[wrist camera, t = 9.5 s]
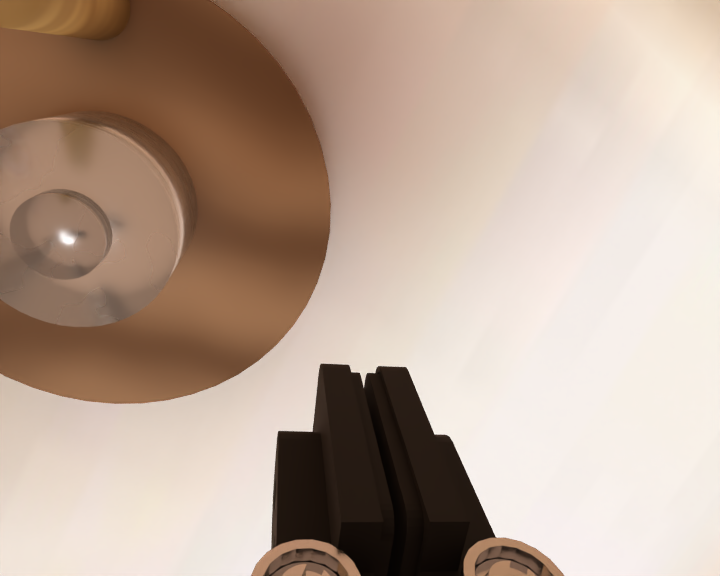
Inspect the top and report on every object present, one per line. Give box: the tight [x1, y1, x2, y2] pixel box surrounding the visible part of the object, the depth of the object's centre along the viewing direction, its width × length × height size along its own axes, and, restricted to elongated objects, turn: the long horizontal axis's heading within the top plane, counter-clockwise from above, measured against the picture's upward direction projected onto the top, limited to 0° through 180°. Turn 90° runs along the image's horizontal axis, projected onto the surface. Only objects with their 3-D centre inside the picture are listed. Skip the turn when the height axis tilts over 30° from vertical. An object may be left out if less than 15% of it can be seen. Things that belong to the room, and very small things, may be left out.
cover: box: [0, 111, 198, 327], centre depth 19 cm, size 7×7×5 cm
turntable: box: [0, 0, 331, 404], centre depth 19 cm, size 18×18×8 cm
